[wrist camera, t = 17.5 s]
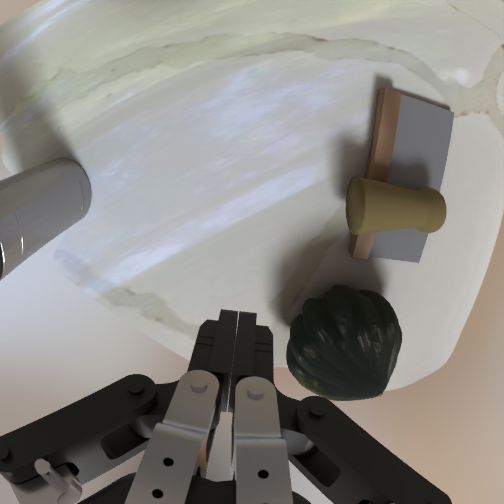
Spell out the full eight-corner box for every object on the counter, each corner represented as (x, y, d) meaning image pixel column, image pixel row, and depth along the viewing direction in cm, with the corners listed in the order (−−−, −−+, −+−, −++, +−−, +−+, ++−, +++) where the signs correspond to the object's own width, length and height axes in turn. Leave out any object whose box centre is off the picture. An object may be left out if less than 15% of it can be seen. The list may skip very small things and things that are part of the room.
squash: (246, 332, 37) (307, 439, 29) (343, 251, 32) (426, 366, 24) (297, 331, 48) (346, 410, 40) (371, 272, 43) (429, 352, 36)
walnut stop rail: (348, 251, 37) (352, 258, 35) (379, 88, 29) (385, 87, 27) (363, 252, 37) (367, 260, 35) (395, 93, 29) (401, 92, 27)
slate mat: (363, 252, 37) (365, 255, 36) (395, 93, 29) (397, 93, 28) (416, 260, 37) (418, 262, 36) (450, 112, 28) (454, 112, 28)
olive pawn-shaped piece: (350, 168, 31) (432, 177, 32) (342, 217, 35) (421, 220, 35) (370, 190, 26) (459, 199, 27) (358, 245, 30) (443, 247, 30)
